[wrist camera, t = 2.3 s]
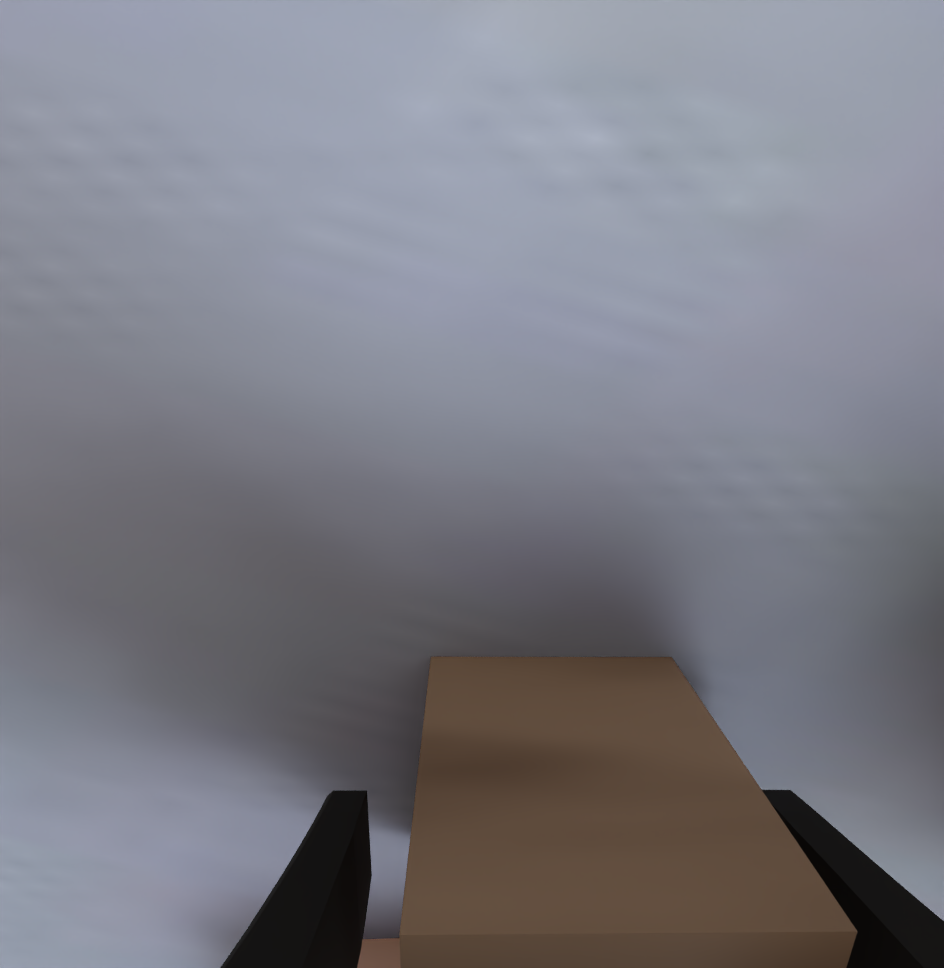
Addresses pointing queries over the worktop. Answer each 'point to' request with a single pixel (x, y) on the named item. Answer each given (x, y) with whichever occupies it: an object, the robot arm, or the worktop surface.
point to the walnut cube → (598, 829)
